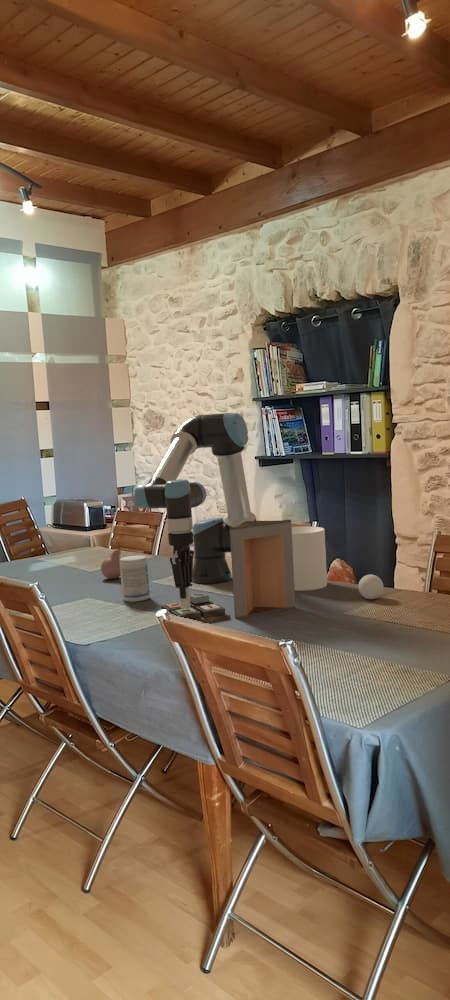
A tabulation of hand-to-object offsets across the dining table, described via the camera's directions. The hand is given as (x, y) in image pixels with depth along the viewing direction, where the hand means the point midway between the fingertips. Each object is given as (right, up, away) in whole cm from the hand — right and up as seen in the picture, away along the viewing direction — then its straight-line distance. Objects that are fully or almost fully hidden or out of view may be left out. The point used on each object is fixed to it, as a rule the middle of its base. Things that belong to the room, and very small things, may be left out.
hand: (185, 608), depth 230 cm
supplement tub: (-19, -2, +33) cm, 39 cm away
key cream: (+7, -2, +3) cm, 8 cm away
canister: (+40, +2, +40) cm, 57 cm away
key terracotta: (-4, -2, +8) cm, 9 cm away
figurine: (-32, +1, +72) cm, 79 cm away
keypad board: (+2, -3, +6) cm, 7 cm away
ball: (+59, +1, +14) cm, 61 cm away
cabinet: (+23, -2, +8) cm, 24 cm away
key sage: (0, -3, 0) cm, 3 cm away
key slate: (+4, +1, +11) cm, 12 cm away
